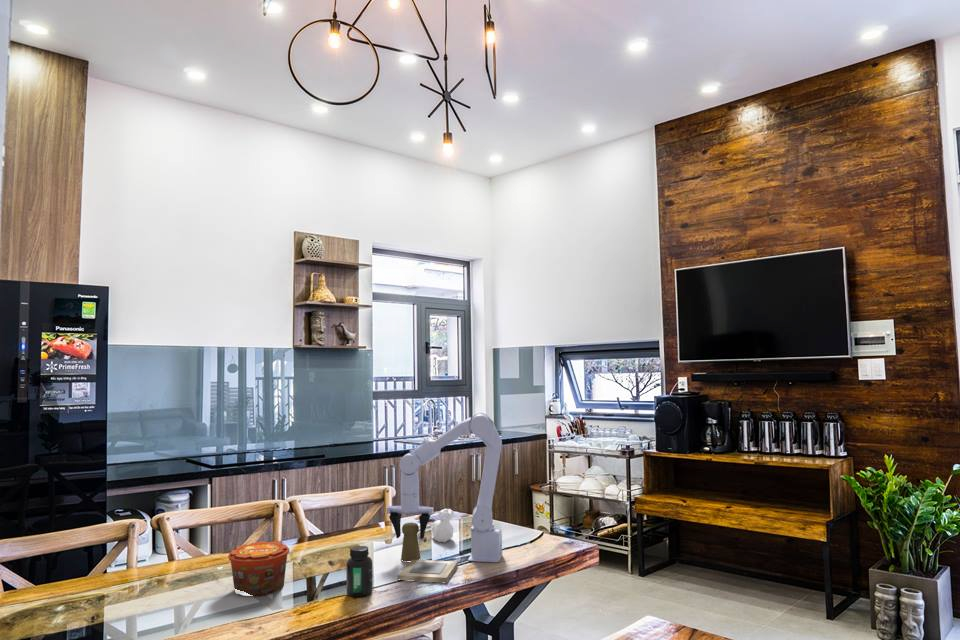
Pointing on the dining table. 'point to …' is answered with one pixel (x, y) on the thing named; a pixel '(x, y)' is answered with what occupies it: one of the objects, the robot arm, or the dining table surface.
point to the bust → (443, 526)
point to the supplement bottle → (359, 573)
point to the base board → (428, 571)
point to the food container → (259, 567)
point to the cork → (410, 542)
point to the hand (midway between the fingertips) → (410, 537)
